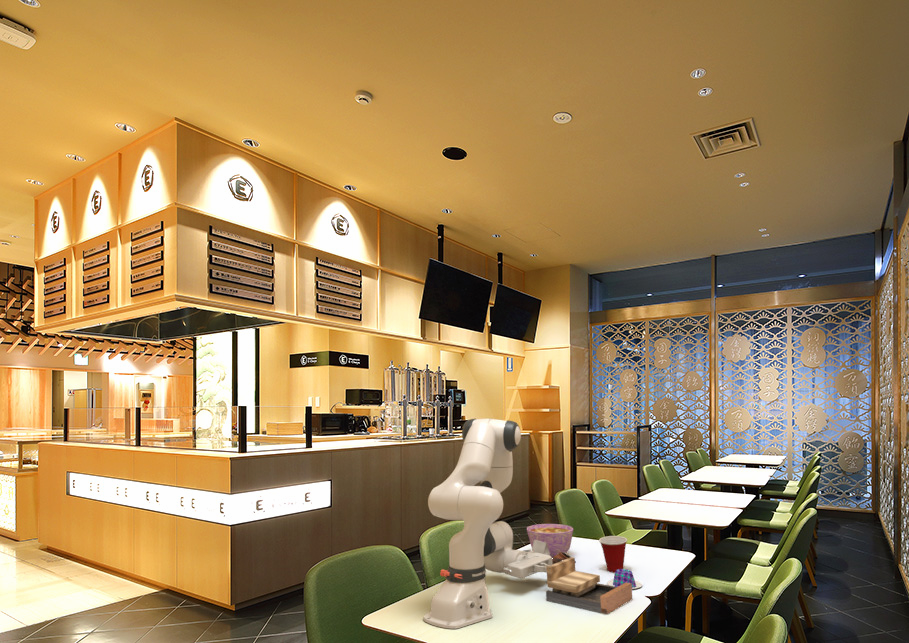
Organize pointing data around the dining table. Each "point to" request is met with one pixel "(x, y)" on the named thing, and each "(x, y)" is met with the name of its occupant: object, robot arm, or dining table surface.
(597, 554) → the dining table surface
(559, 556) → the brown bent arch
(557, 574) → the tan slatted block
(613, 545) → the plastic cup
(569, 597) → the track
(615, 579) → the pudding
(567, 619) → the dining table surface
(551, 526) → the bowl of food
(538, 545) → the tea bag
